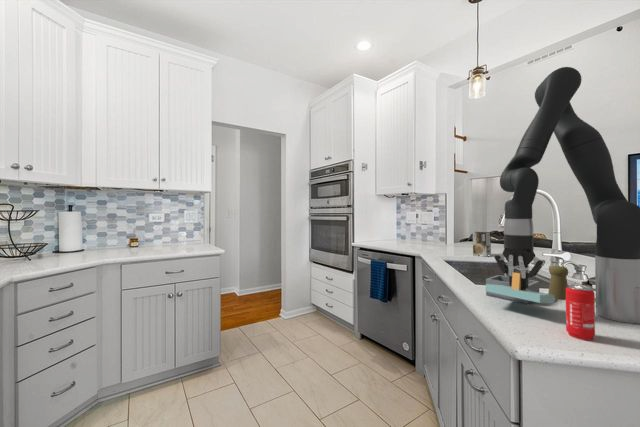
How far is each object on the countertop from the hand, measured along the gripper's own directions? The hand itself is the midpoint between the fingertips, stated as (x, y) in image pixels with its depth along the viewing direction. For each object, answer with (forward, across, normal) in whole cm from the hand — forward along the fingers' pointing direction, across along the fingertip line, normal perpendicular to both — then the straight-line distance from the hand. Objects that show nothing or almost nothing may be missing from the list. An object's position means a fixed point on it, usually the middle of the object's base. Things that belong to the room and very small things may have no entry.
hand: (518, 288), depth 87 cm
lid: (+2, 0, 0) cm, 2 cm away
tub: (+7, +7, -13) cm, 16 cm away
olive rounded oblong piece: (+7, -3, -25) cm, 26 cm away
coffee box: (+7, +58, -97) cm, 113 cm away
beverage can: (+7, -16, +9) cm, 20 cm away
